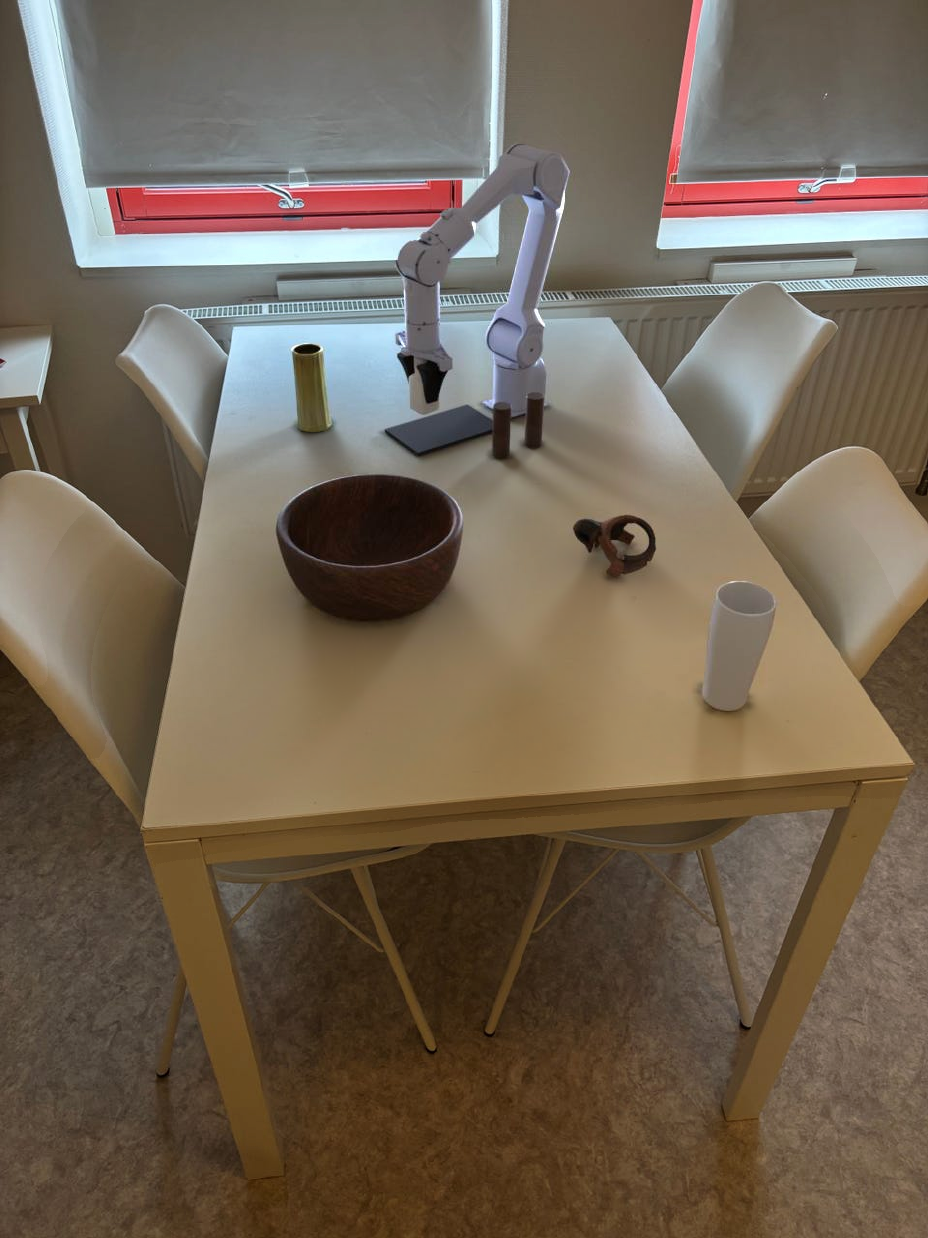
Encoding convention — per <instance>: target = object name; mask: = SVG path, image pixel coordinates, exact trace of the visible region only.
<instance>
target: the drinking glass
mask: <svg viewBox="0 0 928 1238" xmlns="http://www.w3.org/2000/svg"><path fill="white" fill-rule="evenodd" d="M777 604H778V601H777V598H776V596H775V595H774V594H773V592H772V591H771V590H769V589H768V588H766V587H765V586H762V585H760V584H758V583H755V582H750V581H745V580H734V581H729V582H726V583H724V584H722V585H720V586H719V587H718V588H717V590H716V592H715V595H714V599H713V601H712V607H711V611H710V617H709V623H708V630H707V631H708V633H707V644H706V656H705V663H704V675H703V681H702V687H701V695H702V698H703V701H705V703H706V704H707V705H709V706H710V707H712V708H713V709H715V710H717V711H718V710H719V711H722V712H733V711H737V710H740V709H741V708H742V707H744V706H745V705H746V704H747V701H748V699H749V693H750V690H751V688H752V684H753V681H754V679H755V677H756V673H757V671H758V668H759V666H760V663H761V660H762V657H763V655H764V651H765V649H766V646H767V643H768V641H769V638H770V635H771V632H772V628H773V624H774V620H775V616H776V610H777Z"/></svg>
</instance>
